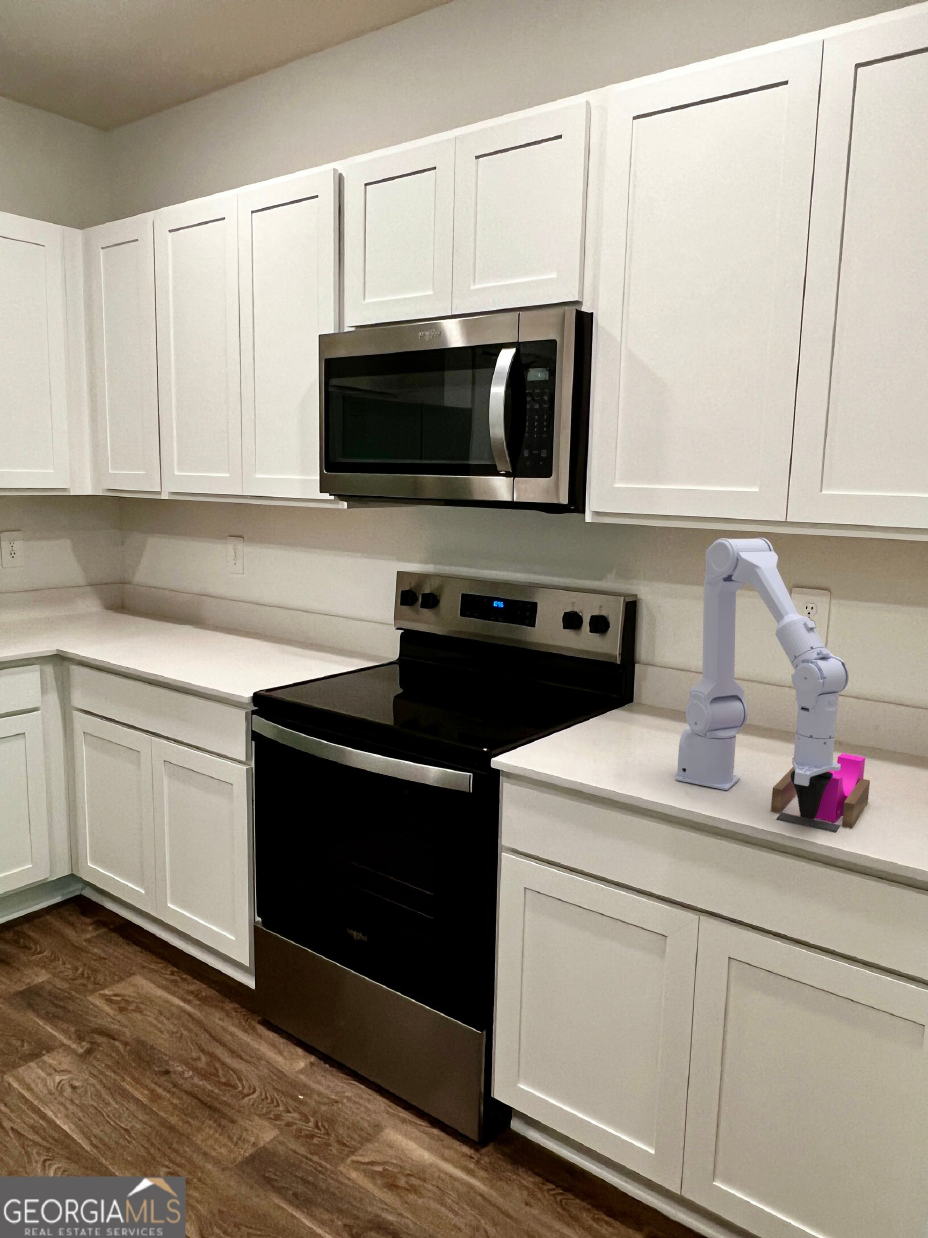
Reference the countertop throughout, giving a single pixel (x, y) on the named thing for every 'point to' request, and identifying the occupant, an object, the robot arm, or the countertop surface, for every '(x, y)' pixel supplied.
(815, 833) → the countertop surface
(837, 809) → the toy block
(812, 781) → the robot arm
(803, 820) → the pit pad
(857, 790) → the channel
